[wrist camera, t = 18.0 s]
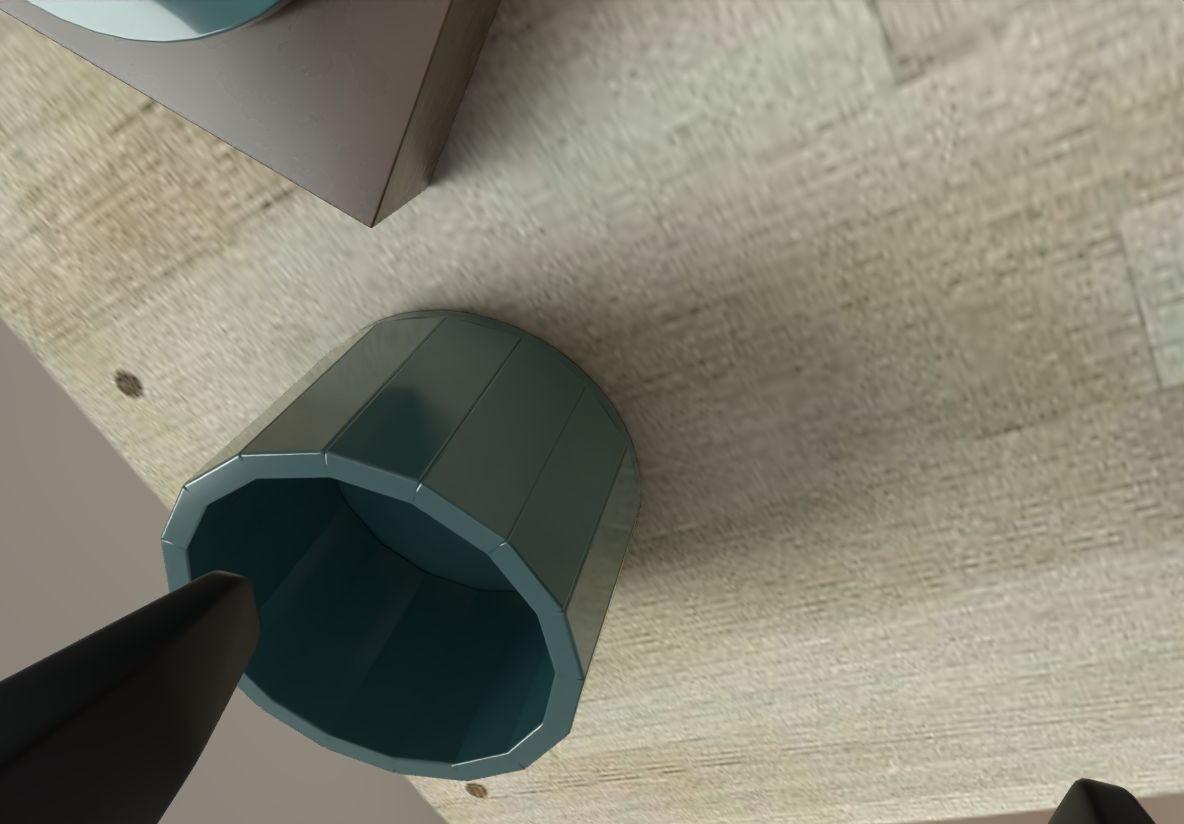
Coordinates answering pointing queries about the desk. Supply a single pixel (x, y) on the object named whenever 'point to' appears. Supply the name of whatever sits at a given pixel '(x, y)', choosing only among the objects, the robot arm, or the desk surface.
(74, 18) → the lid
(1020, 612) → the desk surface
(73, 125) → the desk surface
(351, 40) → the board
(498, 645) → the jar
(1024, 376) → the desk surface
